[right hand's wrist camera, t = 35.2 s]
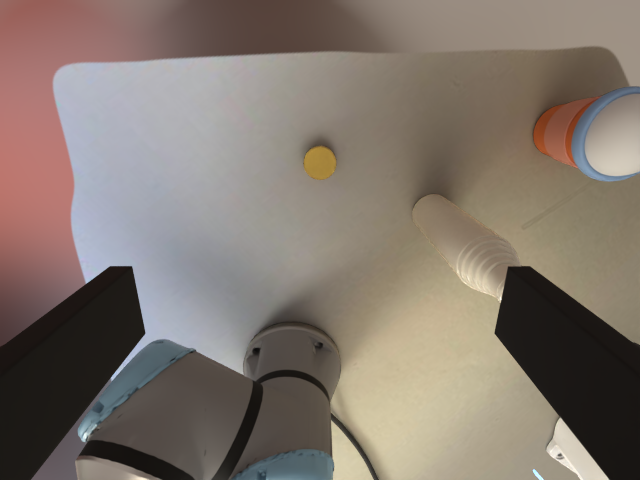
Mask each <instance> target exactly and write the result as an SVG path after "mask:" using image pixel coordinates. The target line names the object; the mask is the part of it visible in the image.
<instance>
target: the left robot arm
mask: <svg viewBox="0 0 640 480" xmlns="http://www.w3.org/2000/svg"><path fill="white" fill-rule="evenodd" d="M547 452H548V453H549V454H550V455H551V456H552V457H553V458H554V459H556V460H557V461H559V462H560V463H562V464H563V465H564V466H566V467H567V468H569V469H570V470H572V471H573V472H574V473H576V474H577V475H578V476H579V478H580V479H581V480H609V479H608V477H607V476H606V475H605V474H604V472H603V471H602V470H601V469H600V467H599V466H598V465H597V463H596V462H595V461H594V460H593V458H592V457H591V456H590V454H589V453H588V452H587V451H586V449H585V448H584V447H583V446H582V444H581V443H580V442H579V440H578V439H577V438H576V437H575V435H574V434H573V433H572V432H571V430H570V429H569V428H568V426H567V425H566V424H565V423H564V421H563V420H562V419H561V417H560V418H559V420H558V422H557V424H556V426H555V431H554V436H553V439H552V440H551V442H550V443H549V445H548V446H547ZM533 472H534V473H535V475H536V476H537V477H538V478H539V479H540V480H543V479H542V477H541V476H540V475H539V474H538V473H537V472H536V471H535V470H533Z"/></svg>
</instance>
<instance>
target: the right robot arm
mask: <svg viewBox="0 0 640 480" xmlns="http://www.w3.org/2000/svg"><path fill="white" fill-rule="evenodd" d="M144 335H145V329H144V324H143V319H142V314H141V309H140V304H139V299H138V294H137V289H136V284H135V279H134V274H133V269H132V266H110V267H109V268H107V269H106V270H105V271H103V272H102V273H100V274H99V275H98V276H96V277H95V278H94V279H92V280H91V281H90V282H88V283H87V284H86V285H84V286H83V287H82V288H80V289H79V290H78V291H76V292H75V293H74V294H72V295H71V296H69V297H68V298H67V299H65V300H64V301H63V302H61V303H60V304H59V305H57V306H56V307H55V308H53V309H52V310H51V311H49V312H48V313H47V314H45V315H44V316H43V317H41V318H40V319H39V320H37V321H36V322H34V323H33V324H32V325H30V326H29V327H28V328H26V329H25V330H24V331H22V332H21V333H20V334H18V335H17V336H16V337H14V338H13V339H12V340H10V341H9V342H7V343H6V344H5V345H3V346H1V347H0V480H31V479H32V477H33V476H34V475H35V474H36V472H37V471H38V470H39V469H40V467H41V466H42V465H43V463H44V462H45V461H46V460H47V458H48V457H49V456H50V454H51V453H52V452H53V451H54V449H55V448H56V447H57V446H58V444H59V443H60V442H61V440H62V439H63V438H64V437H65V435H66V434H67V433H68V432H69V430H70V429H71V428H72V426H73V425H74V424H75V423H76V421H77V420H78V419H79V417H80V416H81V415H82V414H83V412H84V411H85V410H86V409H87V407H88V406H89V405H90V403H91V402H92V401H93V400H94V398H95V397H96V396H97V395H98V393H99V392H100V391H101V389H102V388H103V387H104V386H105V384H106V383H107V382H108V380H109V379H110V378H111V377H112V375H113V374H114V373H115V372H116V370H117V369H118V368H119V366H120V365H121V364H122V363H123V361H124V360H125V359H126V358H127V356H128V355H129V354H130V352H131V351H132V350H133V349H134V347H135V346H136V345H137V343H138V342H139V341H140V340H141V338H142V337H143V336H144ZM495 335H496V336H497V337H498V338H499V340H500V341H501V342H502V343H503V345H504V346H505V347H506V349H507V350H508V351H509V352H510V354H511V355H512V356H513V358H514V359H515V360H516V361H517V363H518V364H519V365H520V366H521V368H522V369H523V370H524V372H525V373H526V374H527V375H528V377H529V378H530V379H531V380H532V382H533V383H534V384H535V386H536V387H537V388H538V389H539V391H540V392H541V393H542V395H543V396H544V397H545V398H546V400H547V401H548V402H549V403H550V405H551V406H552V407H553V409H554V410H555V411H556V412H557V414H558V415H559V416H560V417H561V419H562V420H563V421H564V423H565V424H566V425H567V426H568V428H569V429H570V430H571V432H572V433H573V434H574V435H575V437H576V438H577V439H578V440H579V442H580V443H581V444H582V446H583V447H584V448H585V449H586V451H587V452H588V453H589V454H590V456H591V457H592V458H593V460H594V461H595V462H596V463H597V465H598V466H599V467H600V469H601V470H602V471H603V472H604V474H605V475H606V476H607V477H608V479H609V480H640V345H639V344H636V343H633V342H631V341H630V340H628V339H627V338H626V337H624V336H623V335H622V334H620V333H619V332H618V331H616V330H615V329H614V328H612V327H611V326H610V325H608V324H607V323H606V322H604V321H603V320H602V319H600V318H599V317H597V316H596V315H595V314H593V313H592V312H591V311H589V310H588V309H587V308H585V307H584V306H583V305H581V304H580V303H579V302H577V301H576V300H575V299H573V298H572V297H571V296H569V295H568V294H566V293H565V292H564V291H562V290H561V289H560V288H558V287H557V286H556V285H554V284H553V283H552V282H550V281H549V280H548V279H546V278H545V277H544V276H542V275H541V274H540V273H538V272H537V271H535V270H534V269H533V268H531V267H530V266H508V269H507V274H506V279H505V284H504V289H503V294H502V299H501V304H500V309H499V314H498V319H497V324H496V329H495ZM243 372H244V375H242V374H240V373H238V372H236V371H234V370H232V369H230V368H228V367H226V366H224V365H222V364H220V363H218V362H216V361H214V360H212V359H210V358H208V357H206V356H204V355H202V354H200V353H198V352H196V350H195V349H193V348H190V349H189V348H186V347H184V346H181V345H179V344H177V343H174V342H172V341H170V340H166V339H160V340H156V341H153V342H151V343H150V344H148V345H147V346H146V347H144V348H143V349H142V350H141V351H140V352H139V353H138V354H137V355H136V356H135V357H134V358H133V359H132V360H131V361H130V362H129V363H128V364H127V365H126V366H125V367H124V368H123V370H122V371H121V372H120V373H119V374H118V375H117V376H116V378H115V379H114V380H113V381H112V382H111V384H110V385H109V386H108V387H107V388H106V390H105V391H104V392H103V394H102V395H101V396H100V398H99V401H97V402H96V403H95V405H94V406H93V407H92V409H91V410H90V411H89V412H88V413H87V415H86V416H85V418H84V419H83V421H82V423H81V424H80V426H79V429H78V435H79V437H80V438H81V440H82V441H83V442H86V441H87V444H86V445H85V447H84V448H83V450H82V452H81V453H80V455H79V456H78V458H77V459H76V461H75V464H76V471H77V478H78V480H333V471H334V462H333V459H332V435H331V420H332V421H333V422H334V423H335V424H336V425H337V426H338V427H339V428H340V429H341V430H342V431H343V432H344V434H345V435H346V436H347V437H348V438H349V440H350V441H351V442H352V443H353V445H354V446H355V447H356V449H357V450H358V452H359V453H360V455H361V456H362V458H363V459H364V461H365V463H366V464H367V466H368V468H369V470H370V472H371V475H372V477H373V479H374V480H379V479H378V477H377V475H376V473H375V471H374V469H373V467H372V465H371V463H370V461H369V459H368V457H367V456H366V454H365V453H364V451H363V450H362V448H361V447H360V445H359V444H358V442H357V441H356V440H355V439H354V437H353V436H352V435H351V434H350V432H349V431H348V430H347V429H346V428H345V426H344V425H343V424H342V423H341V422H340V421H339V420H338V419H337V418H336V417H335V416H334V415H333V414H332V413H331V411H330V401H331V399H332V396H333V394H334V391H335V389H336V386H337V383H338V381H339V378H340V372H341V366H340V356H339V352H338V349H337V347H336V345H335V344H334V342H333V341H332V340H331V338H330V337H329V336H328V335H326V334H325V333H324V332H323V331H321V330H319V329H317V328H315V327H313V326H311V325H307V324H304V323H297V322H286V323H280V324H276V325H272V326H270V327H268V328H266V329H264V330H263V331H261V332H260V333H259V334H257V335H256V336H255V337H254V339H253V340H252V341H251V343H250V344H249V346H248V349H247V352H246V355H245V358H244V363H243Z"/></svg>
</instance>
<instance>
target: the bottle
mask: <svg viewBox="0 0 640 480" xmlns="http://www.w3.org/2000/svg"><path fill="white" fill-rule="evenodd" d="M412 218H413V222H414V224H415V225H416V226H417V228H418V229H419V230H420V231H421V232H422V234H423V235H424V236H425V237H426V238H427V240H428V241H429V242H430V243H431V244H432V246H433V247H434V248H435V249H436V250H437V252H438V253H439V254H440V255H441V256H442V258H443V259H444V260H445V261H446V262H447V264H448V265H449V266H450V267H451V268H452V269H453V271H454V272H455V273H456V274H457V275H458V277H459V278H460V279H461V280H462V281H463V282H464V283H465V284H467V285H468V286H469V287H471V288H473V289H475V290H478V291H480V292H484V293H486V294H489V295H491V296H494V297H496V298H497V299H498V301H499V303H500V304H501V299H502V294H503V289H504V284H505V279H506V274H507V269H508V266H521V263H520V261H519V258H518V256H517V253H516V251H515V250H514V248H513V247H512V246H511V245H510V243H509V242H508V241H506V240H505V239H504V238H502V237H501V236H499V235H498V234H497V233H495V232H494V231H492V230H491V229H489V228H488V227H486V226H485V225H484V224H482V223H481V222H479V221H478V220H476V219H475V218H474V217H472V216H471V215H469V214H468V213H466V212H465V211H463V210H462V209H461V208H459V207H458V206H456V205H455V204H453V203H452V202H451V201H449V200H448V199H446V198H445V197H443V196H441V195H438V194H430V195H427V196H424V197H422V198H421V199H420V200H419V201H418V202H417V203H416V204H415V206H414V208H413V212H412Z"/></svg>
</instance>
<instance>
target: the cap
mask: <svg viewBox="0 0 640 480" xmlns="http://www.w3.org/2000/svg"><path fill="white" fill-rule="evenodd" d="M303 164H304V168H305V171H306V172H307V174H308V175H309V176H310V177H312V178H314V179H317V180H323V179H326V178H328V177H330V176H331V175H332V174H333V172H334V171H335V168H336V158H335V156H334V153H333V152H332V151H331V149H329V148H327V147H325V146H321V145H320V146H315V147H313V148H310V150H309V151H308V152H307V153H306V156H305V157H304V163H303Z"/></svg>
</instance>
